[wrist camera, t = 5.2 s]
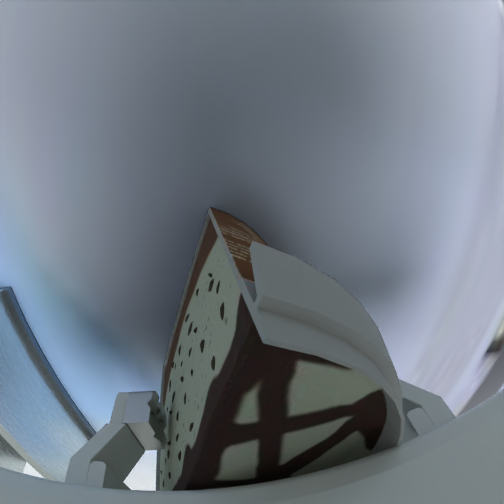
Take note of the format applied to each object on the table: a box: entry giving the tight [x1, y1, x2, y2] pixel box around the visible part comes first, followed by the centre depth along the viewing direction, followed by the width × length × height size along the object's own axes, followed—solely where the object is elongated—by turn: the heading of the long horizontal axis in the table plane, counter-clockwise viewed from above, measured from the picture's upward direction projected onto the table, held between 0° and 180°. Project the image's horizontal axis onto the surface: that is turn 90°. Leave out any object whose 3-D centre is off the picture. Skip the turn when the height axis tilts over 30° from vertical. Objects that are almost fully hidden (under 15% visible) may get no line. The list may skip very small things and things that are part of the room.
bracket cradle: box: [0, 287, 96, 482], centre depth 14 cm, size 19×13×6 cm
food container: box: [156, 207, 405, 491], centre depth 11 cm, size 12×6×10 cm, turn 160°
